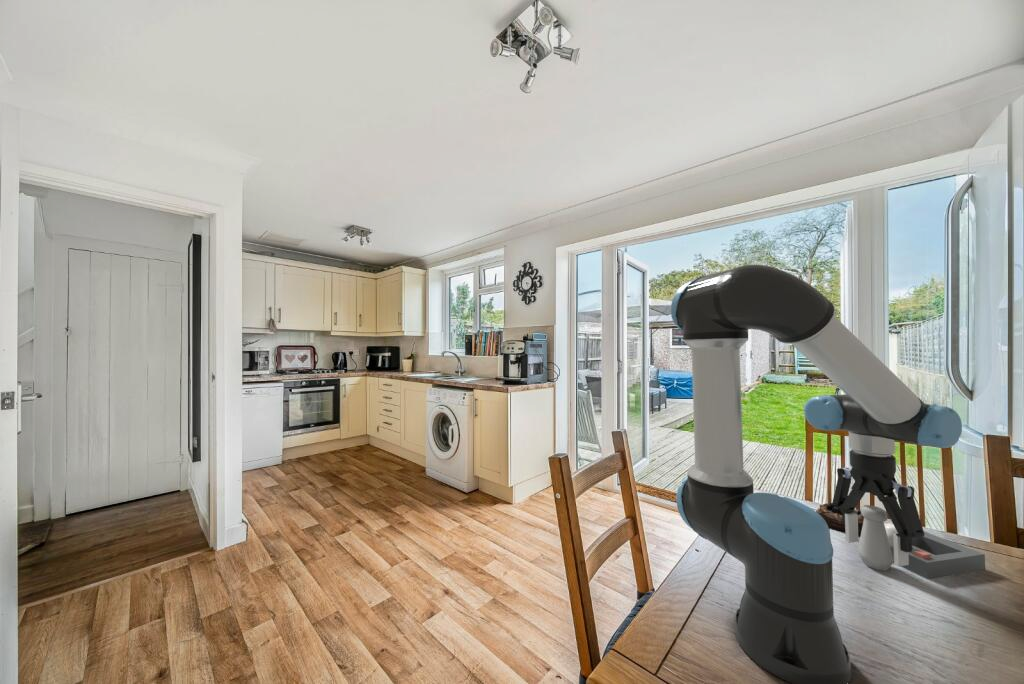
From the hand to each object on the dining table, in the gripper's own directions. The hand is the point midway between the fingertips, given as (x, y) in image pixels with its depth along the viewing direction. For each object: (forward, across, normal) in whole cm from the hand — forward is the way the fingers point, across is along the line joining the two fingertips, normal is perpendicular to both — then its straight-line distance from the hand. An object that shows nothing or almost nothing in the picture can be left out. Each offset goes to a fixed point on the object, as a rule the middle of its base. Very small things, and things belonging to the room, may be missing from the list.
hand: (875, 552), depth 83 cm
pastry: (+3, +17, -13) cm, 22 cm away
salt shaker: (+3, 0, 0) cm, 3 cm away
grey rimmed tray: (+3, 0, -13) cm, 13 cm away
